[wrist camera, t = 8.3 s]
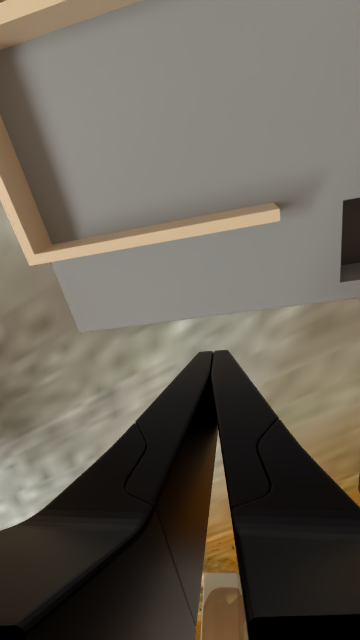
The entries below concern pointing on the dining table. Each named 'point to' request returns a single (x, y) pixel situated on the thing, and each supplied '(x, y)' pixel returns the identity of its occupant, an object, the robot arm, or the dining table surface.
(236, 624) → the skincare box
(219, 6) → the deck
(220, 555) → the dining table surface
